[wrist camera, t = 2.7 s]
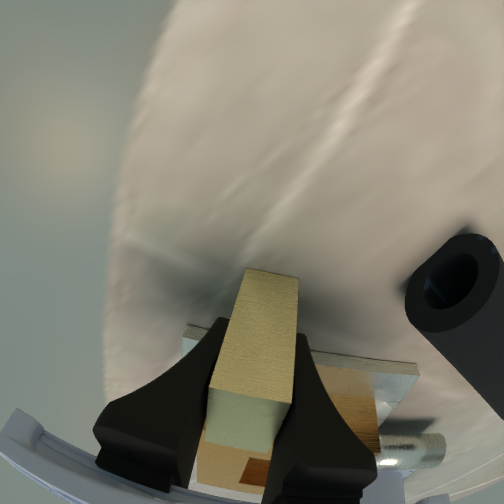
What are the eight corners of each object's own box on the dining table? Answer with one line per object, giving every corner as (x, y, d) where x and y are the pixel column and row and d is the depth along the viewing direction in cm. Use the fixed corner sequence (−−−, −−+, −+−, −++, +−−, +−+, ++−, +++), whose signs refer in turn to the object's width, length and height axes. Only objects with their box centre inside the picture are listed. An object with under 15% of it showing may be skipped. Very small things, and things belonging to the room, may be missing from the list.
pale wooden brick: (281, 338, 16) (266, 453, 10) (236, 329, 17) (204, 441, 10) (298, 278, 15) (291, 403, 8) (246, 268, 15) (209, 387, 9)
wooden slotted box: (390, 462, 23) (393, 504, 19) (188, 438, 24) (174, 483, 20) (481, 367, 16) (503, 423, 11) (187, 324, 17) (156, 393, 13)
